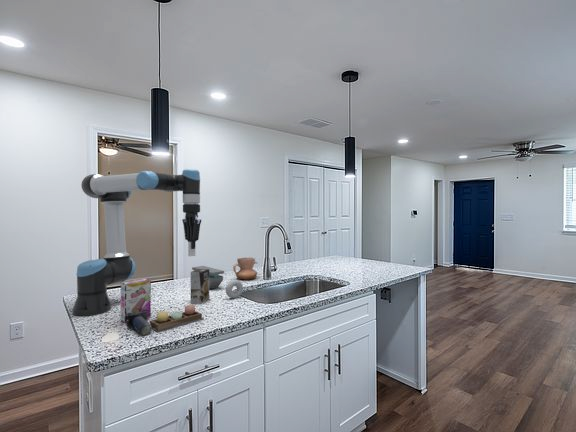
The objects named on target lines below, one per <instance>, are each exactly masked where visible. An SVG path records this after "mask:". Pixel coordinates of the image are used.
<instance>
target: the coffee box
mask: <svg viewBox="0 0 576 432" xmlns="http://www.w3.org/2000/svg"><path fill="white" fill-rule="evenodd" d="M209 300H210V289H209V269H198V270H192V271H190V304H194V305H196V304H197V305H202V304H204V303H206V302H207V301H209Z"/></svg>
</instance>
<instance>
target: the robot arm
mask: <svg viewBox="0 0 576 432" xmlns="http://www.w3.org/2000/svg"><path fill="white" fill-rule="evenodd" d="M80 185H81V190H82V192H83V193H84V194H85V195H86V196H88V197H89V198H93V199H99V200H100V204H101V205H102V206H103V207H104V210H103V211H104V223H105V224H104V225H105V240H106V242H105V243H106V244H105V245H106V254H105V255H104V256H103V258H96V259H90V260H86V261H83V262H81V263H79V264H78V266H77V267H76V269H77V270H76V287H77V288H76V290H77V294H76V299H75V302H74V305H73V307H72V315H74V316H78V317H86V316H87V317H88V316H89V317H90V316H94V315H95V316H96V315H100V314H103V313H106V312H109V311H110V310H111V309H112V303H111V301H110V297H109V296H108V295H109V294H108V293H107V288H108V287H107V286H110V285H113V284H116V283H123V282H127V281H129V280H131V278H132V277H133V276H134V275H135V273H136V262H135V261H134V259H133V258H132V257H130V253H128V252H127V247H126V246H127V245H126V228H125V227H126V226H125V210H124V207H125V204H127V199H129V198H130V195H131V194H132V192H135V191H163V192H168V193H172V192H182V203H183V204H182V212H183V213H185V216H184V217H185V218H182V220H181V221H182V224H183V233H184V239H185V240H186V241H187V243H188V245H187V250H188V252H187V256H188V257H196V242H197V241H199V239H200V238H199V237H200V229H201V225H202V218H201V219H200V218H199V214H198V213H201V205H200V203H201V191H200V189H201V175H200V171H199V170H198V169H193V168H192V169H189V168H185V169H183V170H182V173H181V174H169V173H161V172H155V171H150V170H142V171H140V172H136V173H127V174H126V173H123V174H113V175H106V174H96V173H94V174H89V175H86V176H85V177H83V179H82V180H81V184H80Z"/></svg>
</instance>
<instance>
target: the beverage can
mask: <svg viewBox="0 0 576 432" xmlns="http://www.w3.org/2000/svg"><path fill="white" fill-rule="evenodd" d="M147 316H148V312H147V309H146V310H143V311H142V312H137V313H133V314H131V313H128V314H127V316H125V317H124V318H125V320H128V321H127V323H126V328H127V330H132V329H135V330H136V331H137V332H138V333H139V334H140V335H141V336H148V334H150V333H151V332H152V329H151V328H152V327H151V325H150V322H148V318H149V317H147Z"/></svg>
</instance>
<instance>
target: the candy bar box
mask: <svg viewBox="0 0 576 432" xmlns="http://www.w3.org/2000/svg"><path fill="white" fill-rule="evenodd" d="M151 289H152V280H150V279H147V278H142V279H137V280H128V281H123V282H120V322H123V323H124V324H127V321H128V320H125V318H124V317H125V316H127V314H128V313H131V314H133V313H137V312H142V311H143V310H146V309H147V312H148V316H147V317H148V318H149V317H151V309H152V306H151V303H152V301H151V300H152V297H151V295H152V293H151V292H152V291H151Z"/></svg>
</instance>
